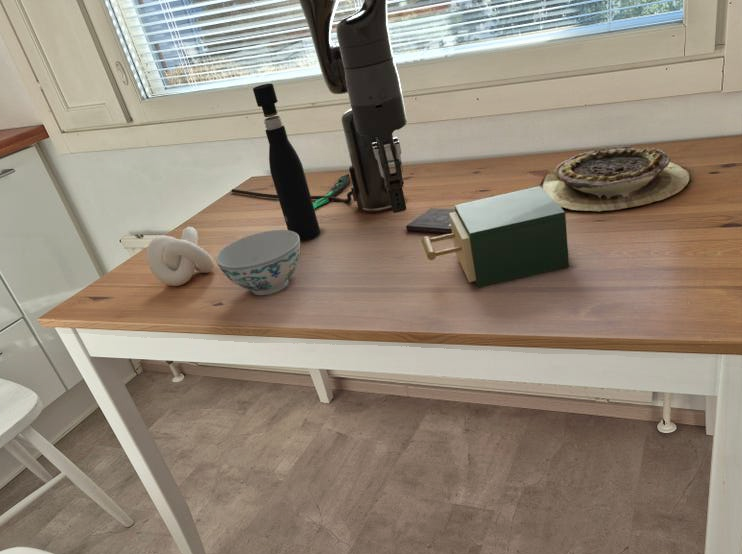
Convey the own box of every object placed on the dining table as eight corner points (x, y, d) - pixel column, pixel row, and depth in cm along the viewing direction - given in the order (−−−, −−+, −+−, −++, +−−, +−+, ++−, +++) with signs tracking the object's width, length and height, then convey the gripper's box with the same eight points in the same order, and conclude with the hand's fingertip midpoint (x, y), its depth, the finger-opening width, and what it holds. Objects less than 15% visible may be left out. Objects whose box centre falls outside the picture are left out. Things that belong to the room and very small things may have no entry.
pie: (702, 160, 133) (703, 134, 130) (669, 214, 114) (669, 186, 112) (565, 163, 148) (563, 140, 145) (516, 211, 129) (513, 186, 127)
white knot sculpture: (168, 269, 140) (152, 229, 135) (224, 258, 139) (209, 217, 135) (154, 293, 130) (136, 250, 126) (214, 281, 130) (198, 237, 125)
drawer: (434, 290, 106) (426, 247, 102) (424, 260, 116) (416, 220, 113) (553, 263, 106) (549, 219, 102) (531, 235, 116) (527, 195, 112)
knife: (345, 173, 171) (362, 172, 169) (345, 176, 172) (362, 175, 170) (296, 209, 155) (315, 208, 152) (297, 212, 155) (316, 211, 153)
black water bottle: (326, 229, 142) (285, 79, 127) (310, 241, 137) (266, 88, 122) (301, 229, 145) (258, 83, 130) (284, 242, 140) (239, 92, 125)
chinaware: (273, 311, 113) (260, 269, 109) (213, 302, 121) (198, 263, 117) (327, 271, 123) (316, 231, 119) (267, 265, 131) (255, 228, 127)
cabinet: (477, 287, 106) (469, 233, 101) (462, 254, 117) (454, 205, 113) (569, 266, 105) (565, 211, 101) (544, 236, 117) (539, 185, 112)
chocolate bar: (430, 208, 137) (509, 212, 127) (431, 212, 138) (510, 216, 127) (405, 225, 131) (486, 231, 121) (406, 230, 132) (487, 236, 122)
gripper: (347, 93, 102) (372, 202, 111) (352, 111, 90) (379, 230, 100) (396, 82, 102) (417, 192, 111) (406, 98, 90) (429, 219, 100)
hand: (399, 210), depth 105 cm, fingers closed
